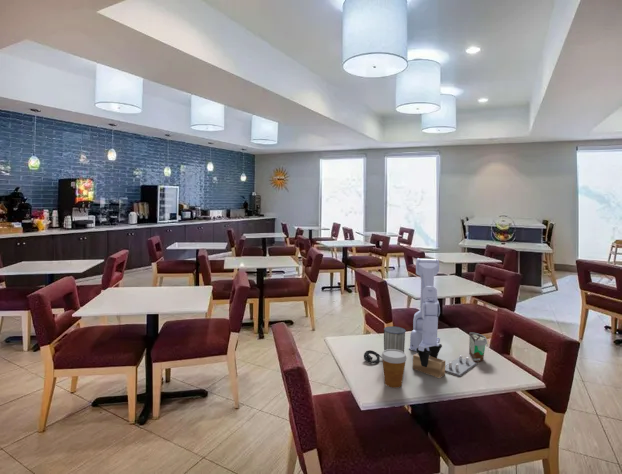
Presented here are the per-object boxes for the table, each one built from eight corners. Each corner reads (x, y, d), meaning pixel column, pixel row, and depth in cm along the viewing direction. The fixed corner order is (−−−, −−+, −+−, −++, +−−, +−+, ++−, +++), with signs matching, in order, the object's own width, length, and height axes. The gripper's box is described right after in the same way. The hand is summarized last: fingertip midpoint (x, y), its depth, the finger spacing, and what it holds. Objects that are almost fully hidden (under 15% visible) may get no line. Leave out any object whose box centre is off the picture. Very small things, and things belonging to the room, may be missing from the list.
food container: (489, 364, 166) (490, 342, 165) (474, 363, 167) (475, 340, 166) (482, 354, 178) (483, 332, 177) (468, 352, 179) (469, 331, 178)
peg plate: (440, 370, 159) (440, 362, 159) (458, 359, 171) (458, 352, 171) (459, 376, 154) (459, 368, 153) (476, 364, 166) (476, 357, 165)
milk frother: (409, 365, 164) (410, 331, 163) (379, 372, 157) (380, 336, 156) (387, 353, 177) (388, 322, 176) (359, 359, 170) (360, 326, 168)
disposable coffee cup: (377, 378, 151) (378, 348, 150) (401, 378, 152) (402, 348, 151) (384, 390, 142) (385, 358, 141) (409, 389, 142) (410, 358, 141)
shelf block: (439, 378, 152) (439, 363, 152) (412, 368, 161) (413, 354, 160) (444, 375, 155) (445, 360, 155) (418, 366, 164) (418, 352, 163)
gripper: (430, 337, 149) (429, 371, 150) (447, 329, 159) (446, 361, 160) (414, 333, 154) (412, 366, 155) (431, 325, 164) (430, 356, 165)
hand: (428, 363), depth 158 cm, fingers open, 7 cm apart
